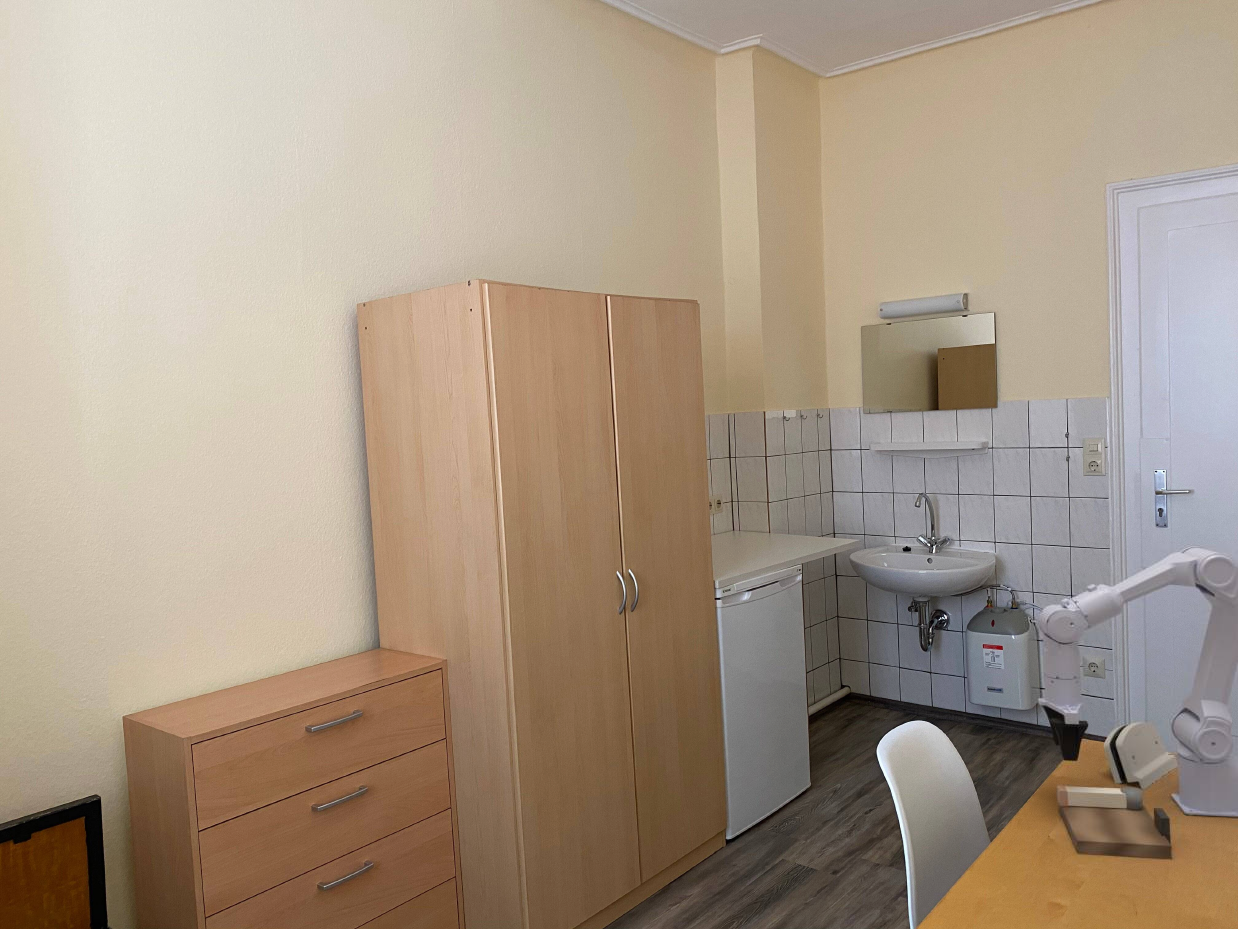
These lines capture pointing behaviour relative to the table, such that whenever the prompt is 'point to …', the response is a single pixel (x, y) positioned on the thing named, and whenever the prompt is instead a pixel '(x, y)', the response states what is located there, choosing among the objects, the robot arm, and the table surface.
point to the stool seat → (1118, 831)
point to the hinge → (1138, 754)
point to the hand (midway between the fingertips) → (1065, 752)
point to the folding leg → (1100, 797)
